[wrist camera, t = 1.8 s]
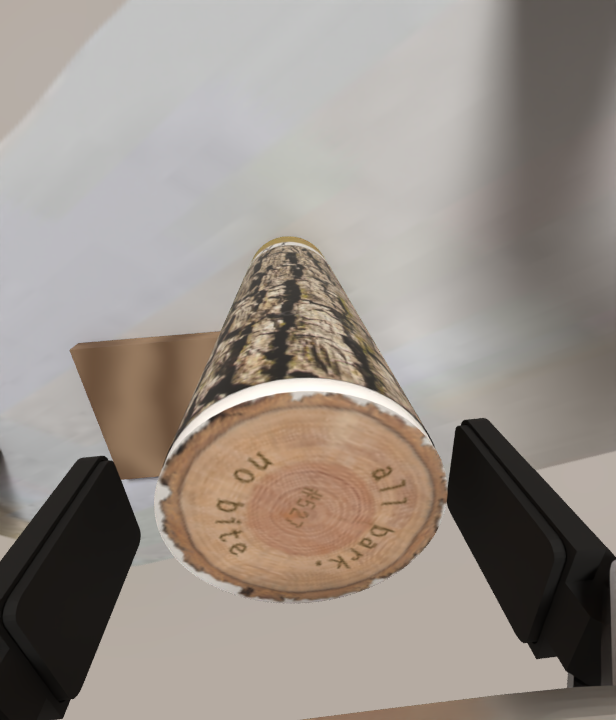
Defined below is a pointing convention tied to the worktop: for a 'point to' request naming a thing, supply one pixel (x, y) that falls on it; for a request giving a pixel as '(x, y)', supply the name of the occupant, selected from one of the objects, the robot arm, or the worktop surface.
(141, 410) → the board
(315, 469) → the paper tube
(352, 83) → the worktop surface
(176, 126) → the worktop surface
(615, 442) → the worktop surface
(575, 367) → the worktop surface
